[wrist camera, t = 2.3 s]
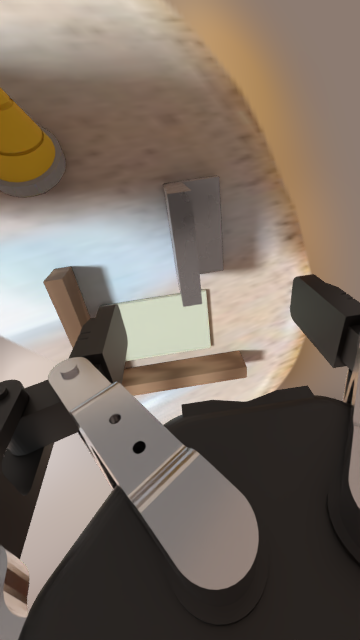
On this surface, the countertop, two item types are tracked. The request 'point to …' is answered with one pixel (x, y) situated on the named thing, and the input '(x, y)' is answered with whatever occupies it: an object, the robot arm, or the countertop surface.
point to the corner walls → (149, 376)
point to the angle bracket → (194, 232)
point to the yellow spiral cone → (26, 153)
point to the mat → (164, 326)
